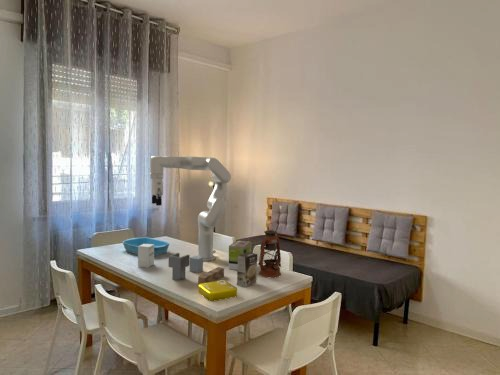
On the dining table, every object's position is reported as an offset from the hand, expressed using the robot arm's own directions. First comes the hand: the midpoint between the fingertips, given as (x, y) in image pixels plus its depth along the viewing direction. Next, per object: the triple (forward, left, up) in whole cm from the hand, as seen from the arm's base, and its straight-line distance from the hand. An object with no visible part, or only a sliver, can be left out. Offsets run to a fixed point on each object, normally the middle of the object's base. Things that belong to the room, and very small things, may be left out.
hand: (156, 204), depth 225 cm
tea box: (-23, +46, -38) cm, 64 cm away
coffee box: (+3, +64, -38) cm, 75 cm away
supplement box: (+5, -4, -38) cm, 38 cm away
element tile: (+23, +58, -38) cm, 73 cm away
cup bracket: (+14, +28, -37) cm, 49 cm away
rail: (+8, +46, -38) cm, 60 cm away
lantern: (-19, +68, -38) cm, 80 cm away
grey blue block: (-2, +28, -37) cm, 47 cm away
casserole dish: (-20, -27, -38) cm, 50 cm away
